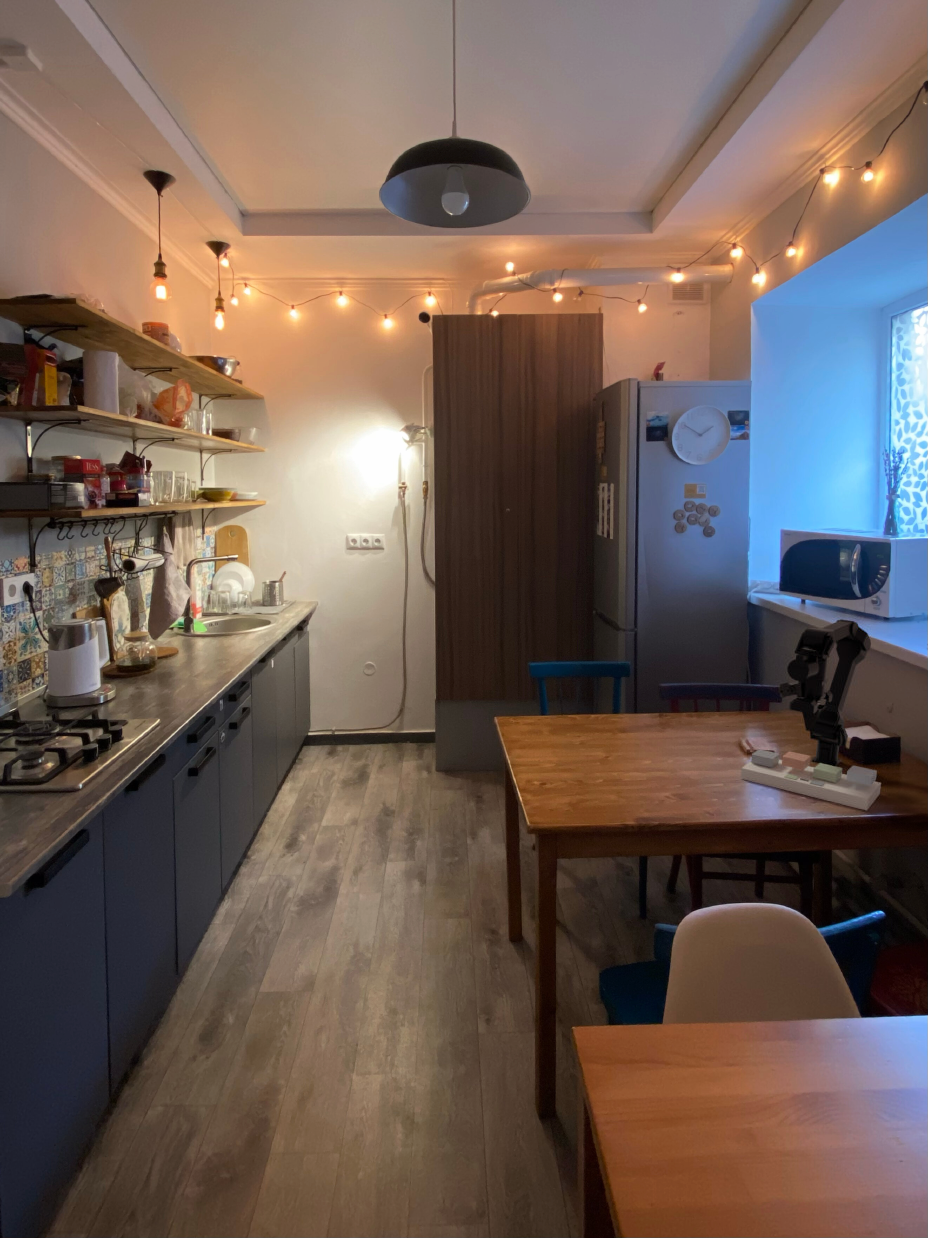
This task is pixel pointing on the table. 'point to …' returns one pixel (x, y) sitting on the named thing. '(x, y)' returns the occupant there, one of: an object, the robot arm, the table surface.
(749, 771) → the keypad base
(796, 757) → the key terracotta
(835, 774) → the key sage
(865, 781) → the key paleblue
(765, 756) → the key slate
